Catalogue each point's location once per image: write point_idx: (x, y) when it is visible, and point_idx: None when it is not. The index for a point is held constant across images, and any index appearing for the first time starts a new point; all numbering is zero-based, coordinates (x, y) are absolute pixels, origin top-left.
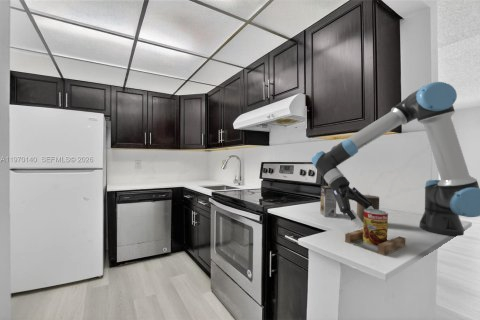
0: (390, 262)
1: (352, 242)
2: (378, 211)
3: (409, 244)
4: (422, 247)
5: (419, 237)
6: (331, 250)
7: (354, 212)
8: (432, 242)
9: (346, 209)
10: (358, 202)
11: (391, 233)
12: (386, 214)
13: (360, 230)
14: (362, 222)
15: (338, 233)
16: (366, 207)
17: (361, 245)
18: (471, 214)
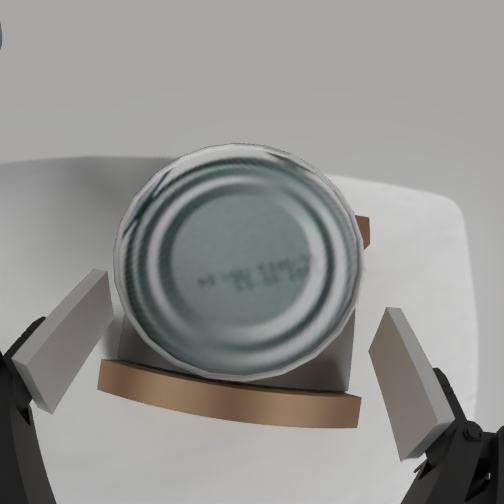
0: (391, 204)
1: (339, 385)
2: (195, 229)
3: (119, 203)
4: (124, 166)
5: (15, 205)
6: (469, 382)
7: (435, 392)
8: (47, 164)
9: (489, 436)
10: (53, 502)
11: (20, 296)
12: (262, 148)
13: (201, 404)
14: (396, 319)
15: (238, 500)
16: (26, 409)
17: (342, 337)
18: (1, 39)
